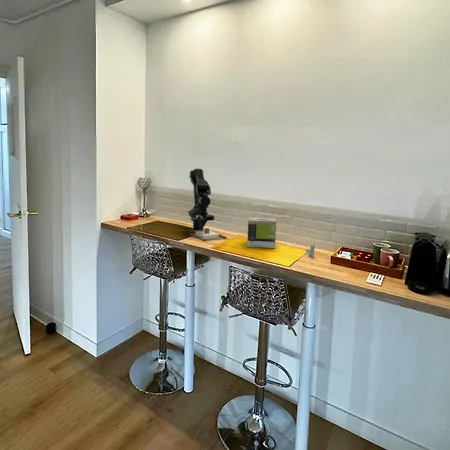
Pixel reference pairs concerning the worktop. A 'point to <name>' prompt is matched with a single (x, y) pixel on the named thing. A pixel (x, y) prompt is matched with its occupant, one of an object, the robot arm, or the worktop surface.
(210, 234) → the cover plate
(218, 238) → the brown flat slab
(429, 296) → the worktop surface
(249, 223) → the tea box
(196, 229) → the robot arm
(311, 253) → the architectural model
